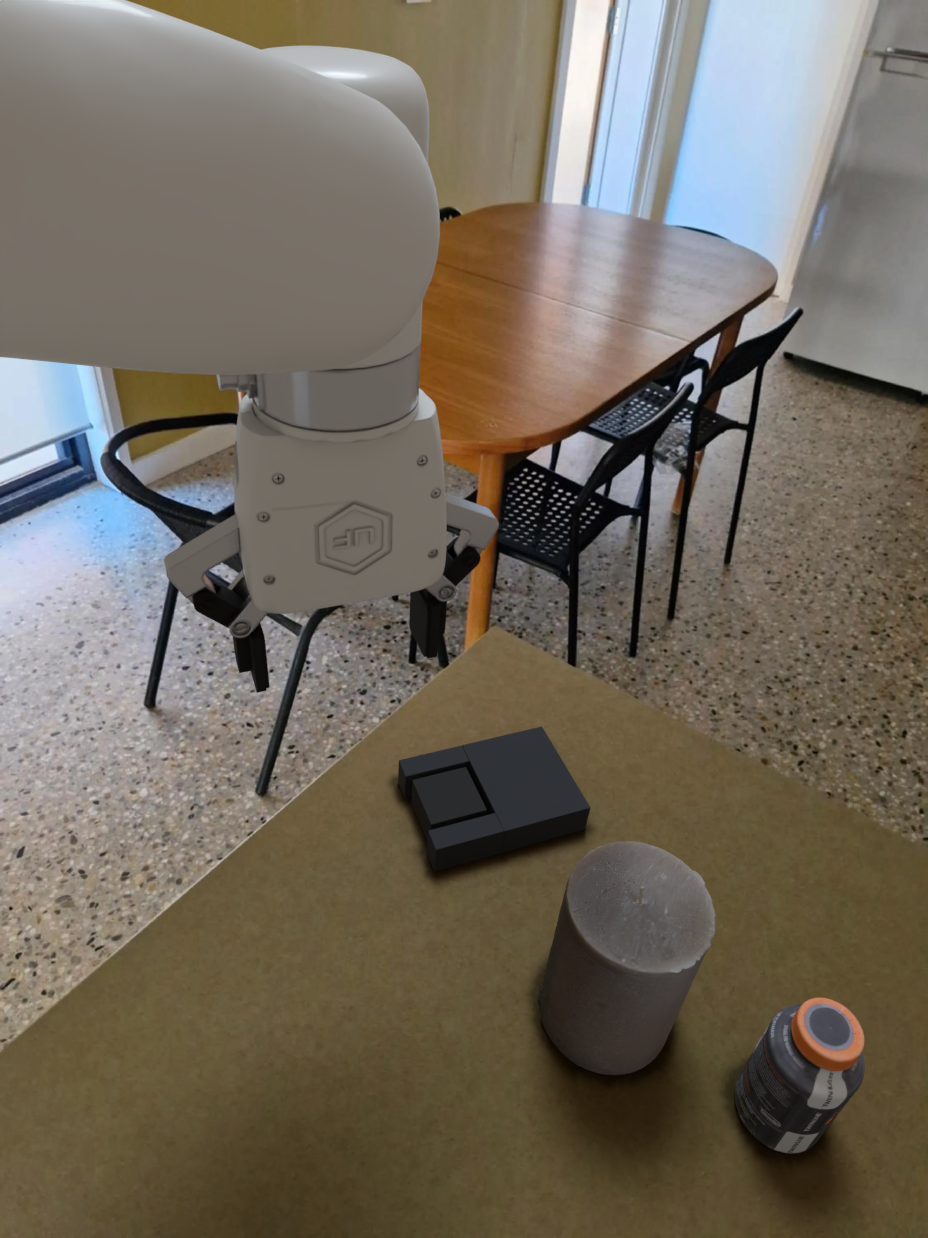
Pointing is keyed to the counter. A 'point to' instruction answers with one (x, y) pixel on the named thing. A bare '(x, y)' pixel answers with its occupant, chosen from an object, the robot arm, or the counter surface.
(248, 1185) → the counter surface
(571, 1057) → the pillar candle
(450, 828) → the large pad
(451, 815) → the small pad
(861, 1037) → the pill bottle
